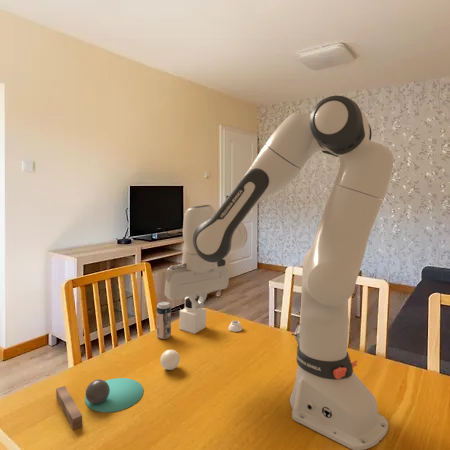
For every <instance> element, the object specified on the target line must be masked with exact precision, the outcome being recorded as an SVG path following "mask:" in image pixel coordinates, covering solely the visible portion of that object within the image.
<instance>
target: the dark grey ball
mask: <svg viewBox="0 0 450 450" xmlns="http://www.w3.org/2000/svg"><path fill="white" fill-rule="evenodd" d="M109 392H110V388H109V385H108V383H107V382H106V380H104V379H95V380H93V381H91V382H90V383H89V384H88V385H87V386H86V389H85V397H86V399H87V400H88V402H89V403H91V404H94V405H98V404H101V403H103V402H104V401H105V400H106V399H107V398H108V396H109Z"/></svg>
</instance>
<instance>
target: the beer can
mask: <svg viewBox="0 0 450 450" xmlns="http://www.w3.org/2000/svg"><path fill="white" fill-rule="evenodd" d="M171 335H172V305H171V303H170V302H169V301H160V302H158V303H157V305H156V337H157V338H159V339H161V340H166V339H168V338H170V337H172V336H171Z"/></svg>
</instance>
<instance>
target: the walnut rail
mask: <svg viewBox="0 0 450 450" xmlns="http://www.w3.org/2000/svg"><path fill="white" fill-rule="evenodd" d="M55 391H56V392H55V393H56V394H55V395H56V397H55V398H56V400H57V401H58V402H57V403H58V404H59V406H60V407H61V410H62V411H63V413H64V415H65V417H66V420H67V421H68V424H69V425H70V427H71V429H72V430H73V431H74V430H77V429H79V428H81V427H83V414H82V413H81V411H80V409H79V407H78V405H77V403H76V402H75V400H74V399H73V397H72V396H71V394H70V392H69V390H68V389H67V387H66V386H65V385H63V386H60V387H56V390H55Z"/></svg>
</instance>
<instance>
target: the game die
mask: <svg viewBox="0 0 450 450" xmlns="http://www.w3.org/2000/svg"><path fill="white" fill-rule="evenodd" d="M296 324H297V327H296V328H295V331H294V333H291V336H294V338H295V341H296V343H297V346H298V345H299V340H300V322H299V321H297V323H296Z"/></svg>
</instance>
